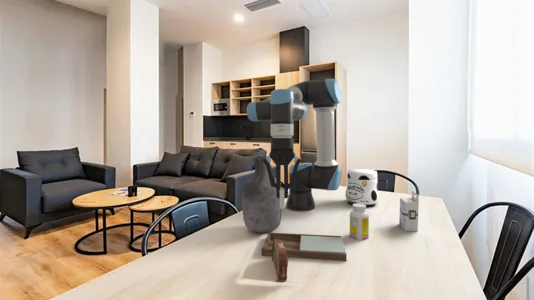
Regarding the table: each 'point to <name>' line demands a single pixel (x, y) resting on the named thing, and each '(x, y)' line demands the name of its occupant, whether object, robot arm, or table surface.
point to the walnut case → (293, 247)
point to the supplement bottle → (359, 222)
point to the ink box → (409, 212)
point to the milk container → (362, 187)
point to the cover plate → (322, 244)
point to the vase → (260, 200)
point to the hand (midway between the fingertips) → (282, 207)
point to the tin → (280, 259)
